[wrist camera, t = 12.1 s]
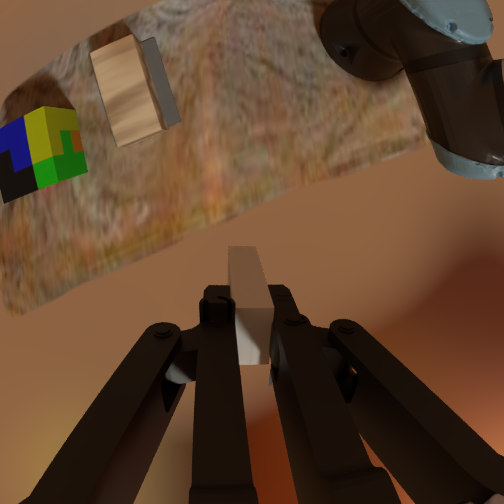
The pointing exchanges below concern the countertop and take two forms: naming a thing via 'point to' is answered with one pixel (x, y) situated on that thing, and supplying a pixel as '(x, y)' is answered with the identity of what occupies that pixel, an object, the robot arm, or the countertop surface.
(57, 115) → the puzzle toy
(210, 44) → the countertop surface
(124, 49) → the beech block
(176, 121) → the rubber mat
